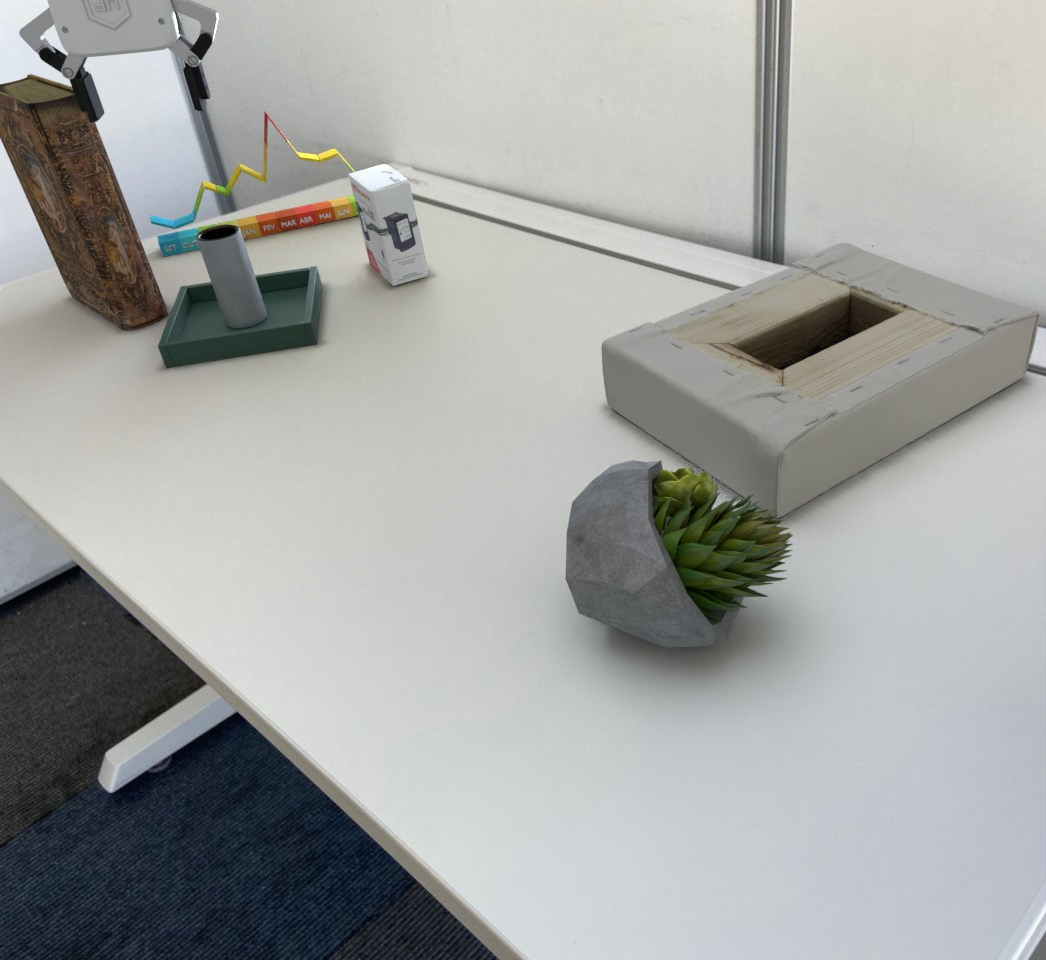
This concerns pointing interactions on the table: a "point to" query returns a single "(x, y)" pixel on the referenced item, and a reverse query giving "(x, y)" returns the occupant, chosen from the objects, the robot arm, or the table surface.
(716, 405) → the box
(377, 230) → the ink box
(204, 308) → the tray
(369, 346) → the table surface
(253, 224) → the chart
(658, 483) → the potted plant
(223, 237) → the gray hollow cylinder
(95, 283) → the book
